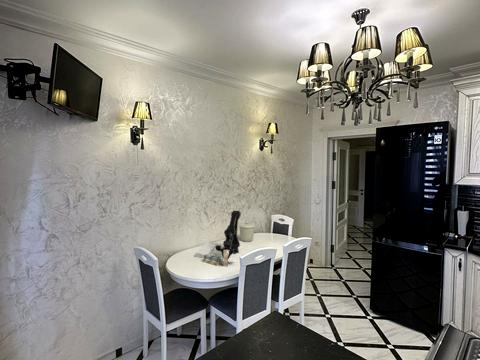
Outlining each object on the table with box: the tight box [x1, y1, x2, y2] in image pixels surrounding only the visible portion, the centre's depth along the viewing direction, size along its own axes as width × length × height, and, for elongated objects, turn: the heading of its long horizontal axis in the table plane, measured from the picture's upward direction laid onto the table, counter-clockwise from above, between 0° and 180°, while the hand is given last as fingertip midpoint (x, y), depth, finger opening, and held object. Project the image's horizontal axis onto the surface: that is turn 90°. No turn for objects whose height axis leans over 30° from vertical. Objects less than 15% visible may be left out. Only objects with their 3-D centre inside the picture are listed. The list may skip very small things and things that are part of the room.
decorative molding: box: [195, 241, 217, 259], centre depth 249 cm, size 34×5×10 cm
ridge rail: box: [202, 254, 223, 267], centre depth 221 cm, size 16×6×5 cm, turn 55°
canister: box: [238, 221, 256, 243], centre depth 287 cm, size 18×18×21 cm
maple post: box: [222, 249, 229, 268], centre depth 214 cm, size 4×4×13 cm
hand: (225, 258), depth 213 cm, fingers closed on maple post, 4 cm apart
